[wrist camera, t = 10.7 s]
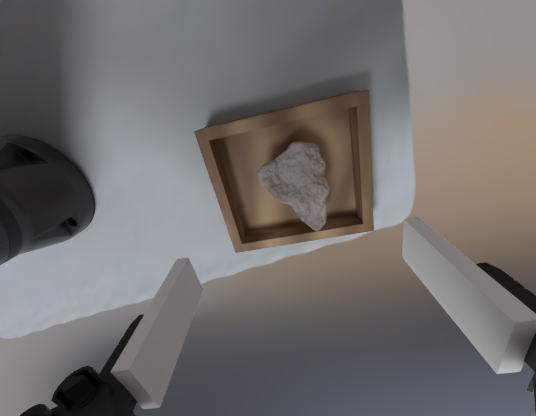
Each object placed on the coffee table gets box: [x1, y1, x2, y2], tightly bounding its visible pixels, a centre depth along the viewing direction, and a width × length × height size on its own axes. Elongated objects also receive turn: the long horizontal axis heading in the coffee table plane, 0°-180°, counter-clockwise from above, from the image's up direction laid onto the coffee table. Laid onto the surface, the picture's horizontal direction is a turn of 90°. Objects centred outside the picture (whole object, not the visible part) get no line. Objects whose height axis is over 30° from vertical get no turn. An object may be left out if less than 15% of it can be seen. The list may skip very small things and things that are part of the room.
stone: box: [257, 141, 330, 231], centre depth 27 cm, size 10×8×6 cm
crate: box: [195, 90, 374, 253], centre depth 28 cm, size 18×16×4 cm
